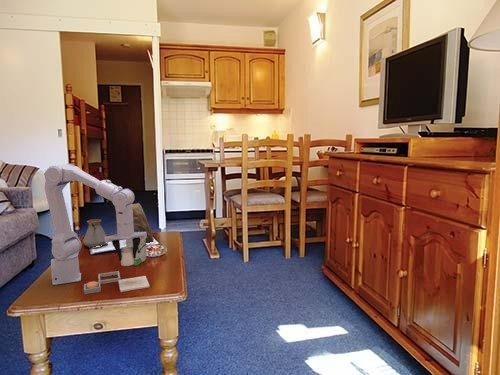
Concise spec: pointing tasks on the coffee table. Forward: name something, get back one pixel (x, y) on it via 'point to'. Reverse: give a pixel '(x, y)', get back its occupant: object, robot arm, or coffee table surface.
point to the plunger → (92, 284)
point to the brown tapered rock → (141, 222)
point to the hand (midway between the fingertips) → (127, 258)
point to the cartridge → (127, 256)
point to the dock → (102, 282)
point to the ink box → (138, 251)
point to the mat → (133, 283)
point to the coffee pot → (94, 234)
